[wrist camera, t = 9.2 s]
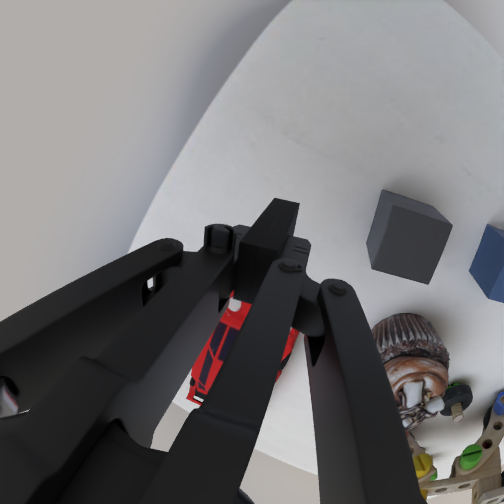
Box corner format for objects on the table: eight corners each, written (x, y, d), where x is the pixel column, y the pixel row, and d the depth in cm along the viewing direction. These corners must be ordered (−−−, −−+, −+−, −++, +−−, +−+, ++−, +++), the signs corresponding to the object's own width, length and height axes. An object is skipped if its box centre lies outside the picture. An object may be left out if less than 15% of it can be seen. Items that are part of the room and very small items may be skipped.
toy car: (310, 307, 28) (304, 340, 24) (260, 407, 38) (250, 434, 33) (213, 271, 30) (192, 297, 25) (193, 381, 39) (179, 405, 35)
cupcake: (455, 328, 24) (480, 398, 16) (400, 381, 29) (405, 449, 20) (395, 290, 25) (412, 365, 16) (340, 352, 30) (333, 427, 21)
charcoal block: (365, 243, 24) (371, 269, 20) (382, 189, 22) (392, 204, 17) (415, 257, 23) (428, 285, 19) (433, 206, 21) (453, 225, 17)
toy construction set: (446, 462, 35) (446, 546, 17) (349, 462, 40) (331, 558, 22) (529, 375, 23) (561, 485, 5) (417, 372, 28) (426, 534, 10)
